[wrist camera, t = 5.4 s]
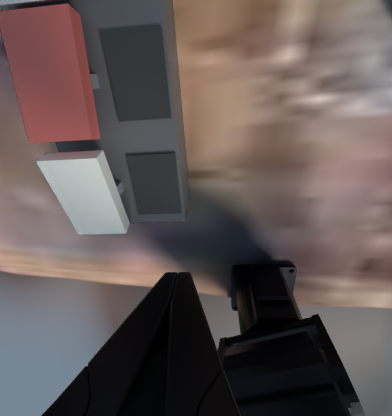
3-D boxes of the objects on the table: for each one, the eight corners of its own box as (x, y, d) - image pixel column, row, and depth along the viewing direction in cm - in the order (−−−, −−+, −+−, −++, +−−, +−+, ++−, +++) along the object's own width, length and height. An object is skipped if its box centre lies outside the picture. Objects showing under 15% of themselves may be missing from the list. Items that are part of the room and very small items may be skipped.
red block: (100, 139, 13) (91, 138, 12) (42, 142, 14) (28, 142, 13) (80, 14, 12) (68, 3, 11) (13, 22, 12) (-5, 11, 11)
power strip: (189, 198, 21) (184, 227, 16) (104, 201, 21) (78, 229, 17) (160, -131, 12) (132, -251, 8) (18, -109, 13) (-81, -207, 8)
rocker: (129, 224, 17) (126, 233, 17) (84, 225, 18) (78, 234, 17) (103, 150, 13) (96, 158, 13) (45, 153, 14) (35, 161, 13)
